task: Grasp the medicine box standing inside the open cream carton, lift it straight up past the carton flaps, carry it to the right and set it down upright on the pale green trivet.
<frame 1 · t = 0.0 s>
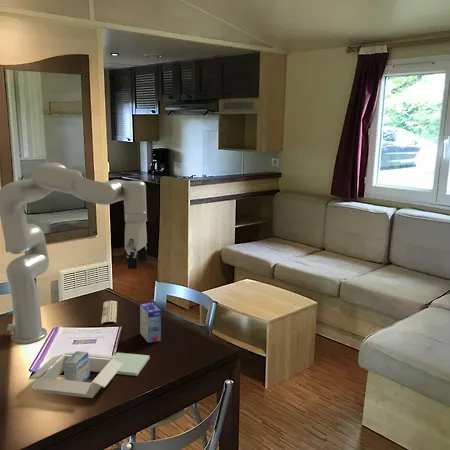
hand: (137, 264, 167), 31 cm above the table, tool pointing down, fingers open, 9 cm apart
trivet: (126, 365, 161), on the table
ink cartridge box: (151, 337, 182), on the table
carton: (78, 382, 150), on the table
medicine box: (78, 382, 150), resting in carton
newspaper: (108, 314, 205), on the table
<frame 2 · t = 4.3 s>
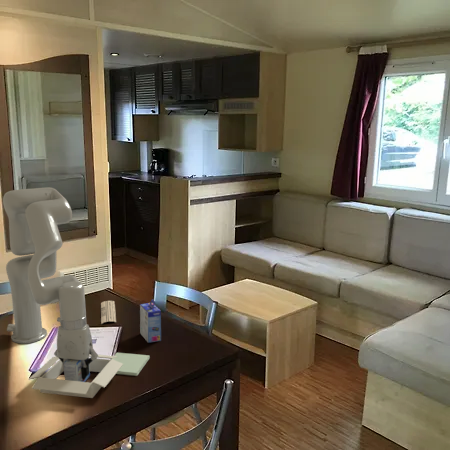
hand: (77, 375, 150), 2 cm above the table, tool pointing down, fingers closed on medicine box, 4 cm apart
medicine box: (78, 382, 150), resting in carton, touching gripper
when the fingers open (4 cm above the table, at t = 11.0 s): medicine box stays where it is, resting on trivet.
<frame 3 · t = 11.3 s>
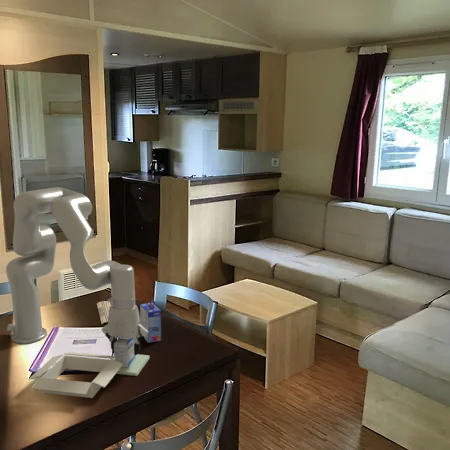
hand: (126, 351, 160), 5 cm above the table, tool pointing down, fingers open, 7 cm apart
medicine box: (125, 362, 161), point 1 cm above the table, touching trivet
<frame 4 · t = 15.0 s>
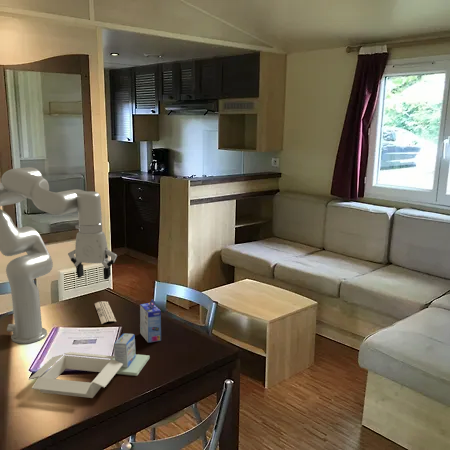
hand: (93, 277, 163), 28 cm above the table, tool pointing down, fingers open, 9 cm apart
at the end: medicine box inside the target area on the trivet (0.3 cm from its centre), point 0.8 cm above the trivet's base; medicine box tilted 0°; the gripper is holding nothing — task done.
